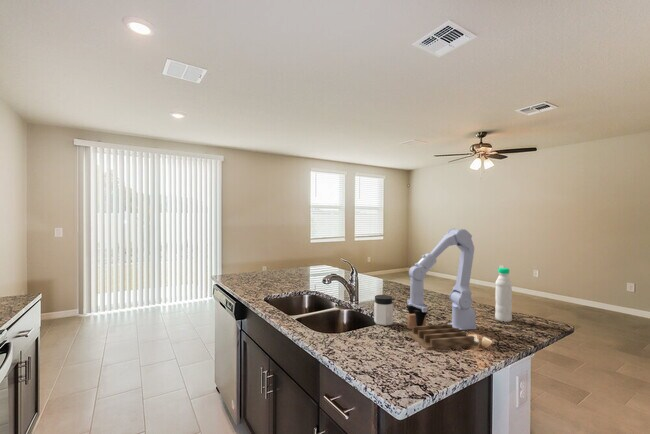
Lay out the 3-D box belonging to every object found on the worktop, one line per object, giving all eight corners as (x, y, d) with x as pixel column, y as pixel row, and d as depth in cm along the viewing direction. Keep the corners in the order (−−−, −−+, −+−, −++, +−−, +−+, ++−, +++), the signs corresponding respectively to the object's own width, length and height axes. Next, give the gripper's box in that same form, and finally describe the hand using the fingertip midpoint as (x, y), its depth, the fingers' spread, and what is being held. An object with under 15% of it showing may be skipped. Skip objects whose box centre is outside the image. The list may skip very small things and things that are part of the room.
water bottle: (496, 321, 150) (496, 268, 150) (494, 316, 156) (494, 266, 156) (513, 323, 147) (513, 269, 147) (510, 318, 154) (510, 267, 154)
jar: (382, 326, 140) (382, 300, 140) (370, 321, 147) (370, 296, 147) (396, 323, 145) (396, 297, 145) (384, 318, 152) (384, 293, 152)
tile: (423, 326, 142) (423, 313, 142) (425, 327, 140) (426, 314, 140) (407, 327, 140) (407, 313, 140) (409, 329, 138) (409, 315, 138)
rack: (454, 331, 135) (454, 323, 135) (478, 345, 121) (478, 336, 121) (407, 334, 131) (407, 326, 131) (426, 349, 116) (426, 340, 116)
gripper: (401, 290, 146) (400, 319, 146) (416, 297, 132) (416, 330, 132) (415, 289, 148) (414, 318, 148) (431, 297, 133) (431, 329, 133)
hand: (416, 323), depth 140 cm, fingers open, 5 cm apart
